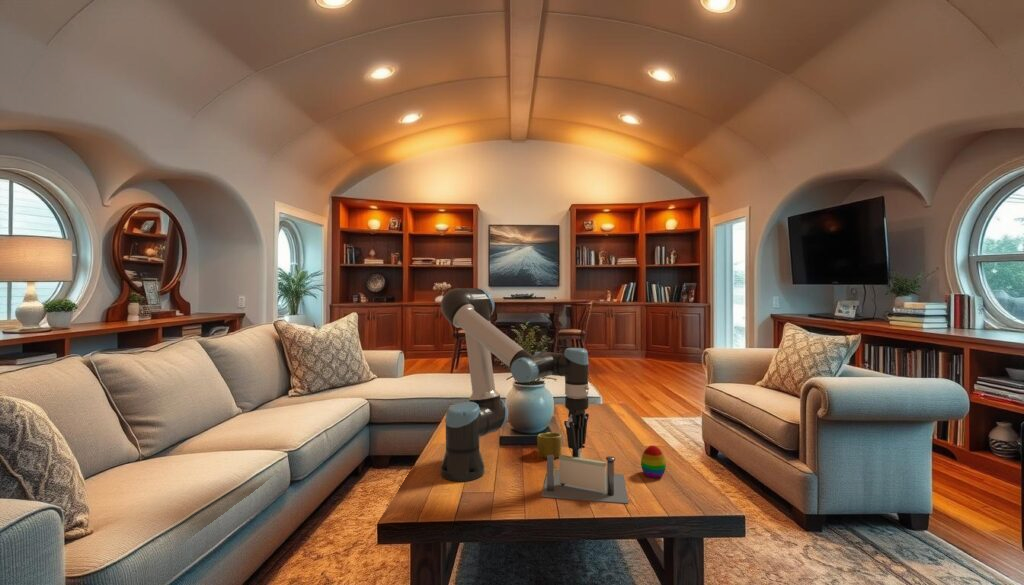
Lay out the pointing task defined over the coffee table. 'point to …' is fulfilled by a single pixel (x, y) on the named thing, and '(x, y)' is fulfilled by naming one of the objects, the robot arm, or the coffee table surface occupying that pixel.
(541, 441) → the mug
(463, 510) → the coffee table surface
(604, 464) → the gate
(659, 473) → the decorative egg
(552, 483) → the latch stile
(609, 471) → the hinge post
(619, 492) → the mat
